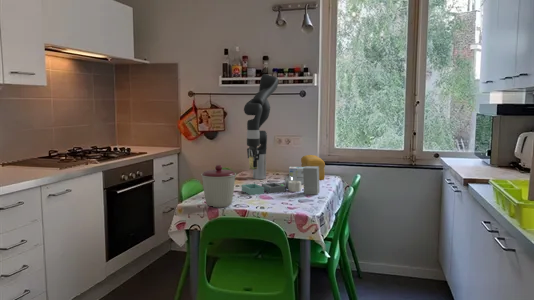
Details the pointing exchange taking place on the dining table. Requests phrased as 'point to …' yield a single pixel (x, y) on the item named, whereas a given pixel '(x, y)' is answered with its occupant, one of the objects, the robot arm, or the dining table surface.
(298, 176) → the light bulb box
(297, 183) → the white cup
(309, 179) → the skincare box
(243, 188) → the trough
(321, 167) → the bread
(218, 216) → the dining table surface
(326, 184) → the dining table surface
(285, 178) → the grey cell
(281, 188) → the block
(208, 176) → the canister
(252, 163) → the brass cell
